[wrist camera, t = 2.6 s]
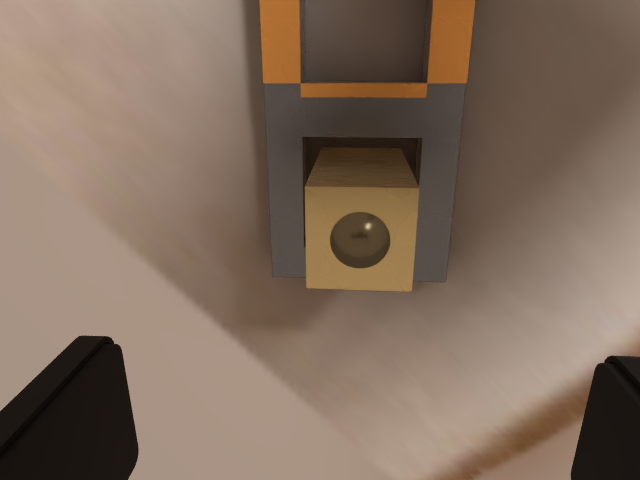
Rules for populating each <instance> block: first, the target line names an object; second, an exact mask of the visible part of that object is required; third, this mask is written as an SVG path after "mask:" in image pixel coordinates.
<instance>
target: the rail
mask: <svg viewBox="0 0 640 480" xmlns="http://www.w3.org/2000/svg"><path fill="white" fill-rule="evenodd" d="M259 2H260V24H261V47H262V69H263V83H264V95H265V118H266V141H267V164H268V187H269V209H270V232H271V255H272V277H300V278H306V236H305V185H306V182H307V154H306V137H368V138H418V144H417V159H416V173H415V180H416V182H417V184H418V186H419V201H418V215H417V229H416V242H415V256H414V270H413V281H426V282H446V276H447V266H448V256H449V246H450V236H451V226H452V216H453V206H454V196H455V186H456V177H457V167H458V157H459V147H460V137H461V127H462V117H463V107H464V97H465V87H466V83H467V77H468V68H469V58H470V48H471V38H472V28H473V18H474V9H475V0H427V15H426V29H425V44H424V58H423V72H422V81H371V82H305V11H304V0H259Z"/></svg>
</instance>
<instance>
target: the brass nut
mask: <svg viewBox="0 0 640 480" xmlns="http://www.w3.org/2000/svg"><path fill="white" fill-rule="evenodd" d="M418 201H419V186H418V184H417V182H416V180H415V178H414V175H413V173H412V171H411V169H410V167H409V164H408V162H407V160H406V158H405V156H404V154H403V151H402V149H401V148H324V147H322V149H321V151H320V153H319V155H318V158H317V160H316V162H315V164H314V167H313V169H312V171H311V173H310V176H309V178H308V180H307V182H306V185H305V236H306V288H316V289H346V290H376V291H406V292H412V283H413V270H414V256H415V242H416V229H417V215H418Z"/></svg>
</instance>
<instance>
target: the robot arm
mask: <svg viewBox="0 0 640 480" xmlns="http://www.w3.org/2000/svg"><path fill="white" fill-rule="evenodd" d="M137 458H138V442H137V437H136V431H135V425H134V420H133V413H132V407H131V402H130V396H129V390H128V384H127V378H126V372H125V366H124V360H123V354H122V350H121V347H120V346H119V345H118V344H114V341H113V340H112V338H110V337H107V336H79V337H78V338H76V339H75V340H74V341H73V342H72V343H71V344H70V345H69V346H68V347H67V348H66V349H65V350H63V352H61V354H60V355H58V356H57V357H56V358H55V359H54V360H53V361H52V362H51V363H50V364H49V365H48V366H47V367H46V368H45V369H44V370H43V371H42V372H41V373H40V374H39V375H38V376H37V377H35V378H34V379H33V380H32V382H30V383H29V384H28V385H27V386H26V387H25V388H24V389H23V390H22V391H21V392H20V393H19V394H18V395H17V396H16V397H15V398H14V399H13V400H12V401H11V402H10V403H9V404H8V405H6V406H5V407H4V408H3V409H2V410H1V411H0V480H128V478H129V476H130V475H131V473H132V471H133V469H134V467H135V465H136V462H137ZM571 480H640V357H631V356H609V357H607V359H606V360H605V362H604V363H600V364H598V365H597V366H596V368H595V371H594V376H593V380H592V384H591V388H590V393H589V397H588V401H587V406H586V410H585V414H584V418H583V423H582V427H581V431H580V435H579V440H578V444H577V448H576V453H575V457H574V461H573V466H572V470H571Z"/></svg>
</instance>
